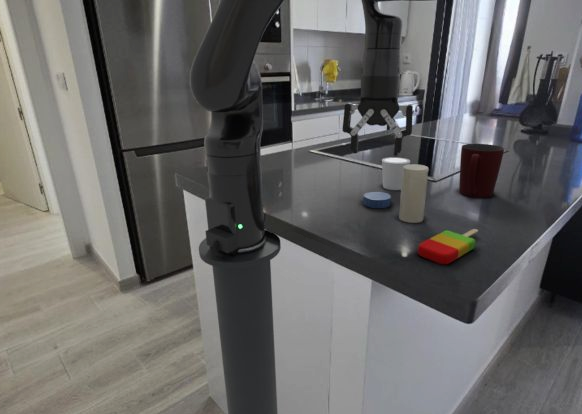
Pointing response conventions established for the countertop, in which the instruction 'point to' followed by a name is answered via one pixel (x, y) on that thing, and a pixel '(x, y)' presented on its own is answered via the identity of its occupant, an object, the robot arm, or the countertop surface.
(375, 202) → the lid
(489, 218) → the countertop surface
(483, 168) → the mug
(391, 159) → the white short cylinder
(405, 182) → the jar
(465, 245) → the popsicle
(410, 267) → the countertop surface
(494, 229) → the countertop surface
